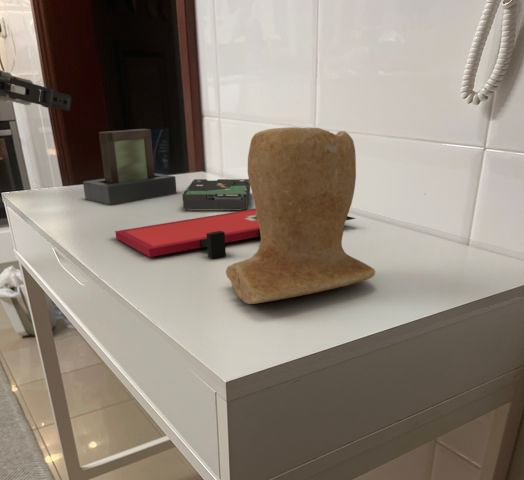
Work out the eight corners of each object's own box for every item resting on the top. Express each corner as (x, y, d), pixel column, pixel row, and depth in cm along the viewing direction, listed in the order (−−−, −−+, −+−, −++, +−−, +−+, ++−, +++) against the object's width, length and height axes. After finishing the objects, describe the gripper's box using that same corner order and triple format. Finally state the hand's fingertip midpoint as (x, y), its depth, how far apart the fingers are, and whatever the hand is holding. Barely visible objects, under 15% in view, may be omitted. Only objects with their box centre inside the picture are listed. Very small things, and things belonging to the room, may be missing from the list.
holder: (85, 199, 98) (82, 181, 97) (151, 188, 107) (149, 172, 106) (110, 205, 93) (107, 186, 92) (176, 193, 102) (175, 176, 101)
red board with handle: (365, 227, 76) (300, 210, 88) (366, 206, 75) (300, 192, 87) (163, 268, 62) (116, 241, 73) (160, 243, 61) (113, 220, 72)
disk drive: (193, 195, 102) (183, 211, 88) (192, 179, 100) (181, 193, 87) (250, 194, 102) (248, 210, 88) (250, 178, 100) (248, 192, 87)
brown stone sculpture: (319, 260, 64) (324, 119, 57) (390, 290, 55) (406, 126, 48) (198, 283, 57) (189, 125, 51) (257, 321, 48) (254, 135, 41)
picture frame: (114, 200, 96) (106, 132, 92) (107, 199, 98) (98, 132, 93) (156, 193, 102) (150, 129, 98) (149, 192, 104) (143, 128, 99)
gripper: (-30, 43, 68) (84, 78, 81) (-80, 35, 76) (31, 68, 89) (-33, 108, 71) (77, 132, 83) (-82, 94, 78) (26, 118, 91)
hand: (53, 99), depth 86 cm, fingers open, 8 cm apart
